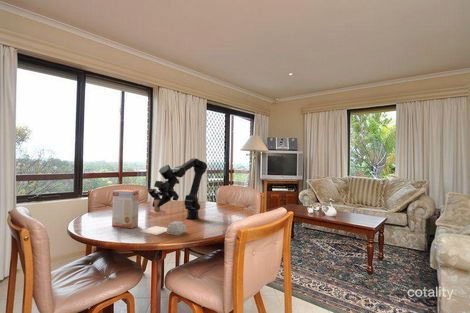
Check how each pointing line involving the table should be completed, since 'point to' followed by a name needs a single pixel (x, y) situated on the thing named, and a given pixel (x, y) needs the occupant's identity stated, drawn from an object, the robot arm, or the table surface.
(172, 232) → the grey rock
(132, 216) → the cracker box
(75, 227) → the table surface
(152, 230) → the cream mat
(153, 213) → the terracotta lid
